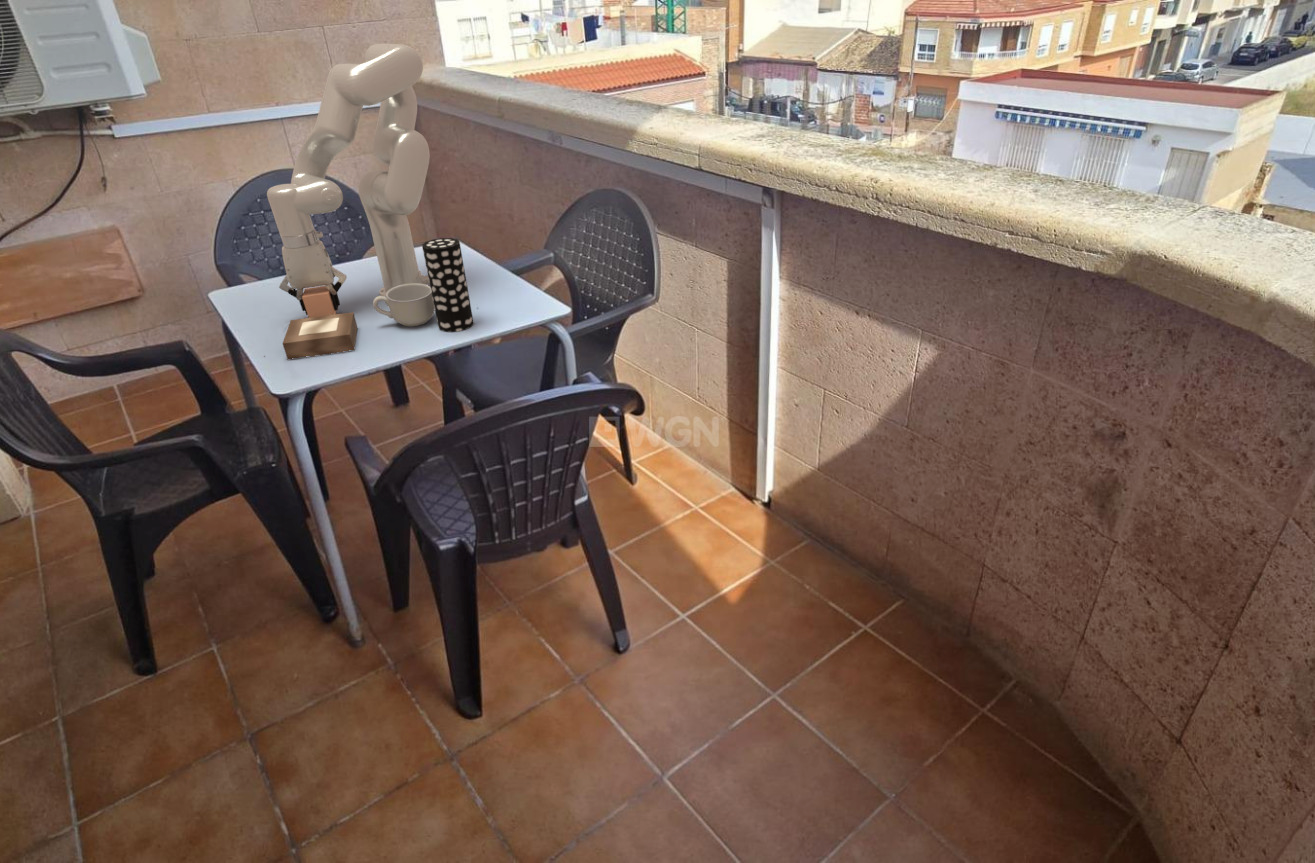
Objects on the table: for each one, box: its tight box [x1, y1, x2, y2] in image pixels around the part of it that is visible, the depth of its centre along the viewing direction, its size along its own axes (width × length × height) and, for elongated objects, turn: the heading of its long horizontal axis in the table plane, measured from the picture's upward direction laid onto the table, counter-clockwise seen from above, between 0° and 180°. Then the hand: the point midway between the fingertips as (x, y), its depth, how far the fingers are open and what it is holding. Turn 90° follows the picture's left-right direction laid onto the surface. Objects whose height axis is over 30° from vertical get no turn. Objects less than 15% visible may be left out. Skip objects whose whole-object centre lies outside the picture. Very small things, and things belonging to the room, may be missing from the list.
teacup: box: [372, 283, 435, 327], centre depth 176 cm, size 14×11×8 cm
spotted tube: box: [421, 237, 474, 333], centre depth 171 cm, size 8×8×20 cm
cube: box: [302, 285, 338, 318], centre depth 180 cm, size 6×6×6 cm
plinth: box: [282, 311, 358, 360], centre depth 168 cm, size 14×14×4 cm
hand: (322, 310), depth 181 cm, fingers closed on cube, 6 cm apart
